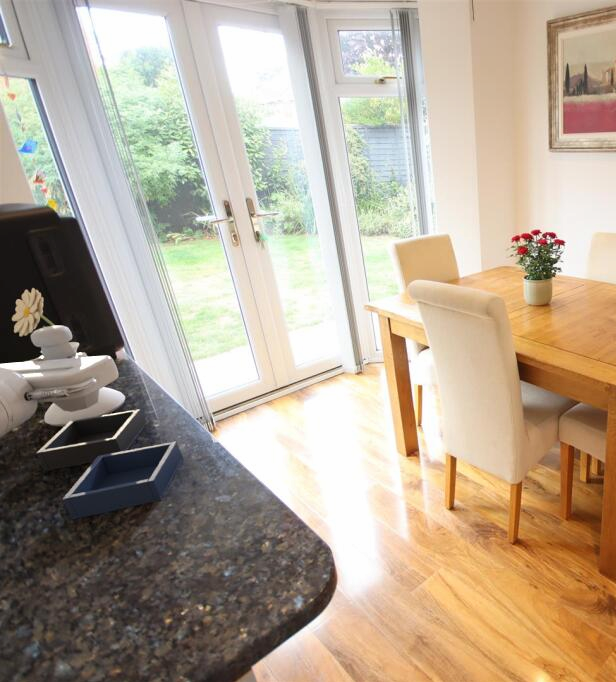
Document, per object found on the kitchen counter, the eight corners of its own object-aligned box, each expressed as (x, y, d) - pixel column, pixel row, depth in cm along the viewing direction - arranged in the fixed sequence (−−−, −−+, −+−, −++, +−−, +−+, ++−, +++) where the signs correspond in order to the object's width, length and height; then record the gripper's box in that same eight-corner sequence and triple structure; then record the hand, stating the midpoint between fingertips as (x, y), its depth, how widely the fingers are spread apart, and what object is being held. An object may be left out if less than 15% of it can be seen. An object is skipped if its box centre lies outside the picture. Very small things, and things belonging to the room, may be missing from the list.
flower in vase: (49, 415, 86) (-13, 286, 77) (125, 394, 93) (78, 273, 84) (46, 444, 77) (-24, 301, 68) (131, 418, 84) (79, 285, 75)
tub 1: (44, 471, 70) (35, 453, 69) (77, 437, 79) (70, 420, 77) (122, 456, 73) (115, 438, 72) (146, 425, 82) (140, 408, 80)
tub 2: (71, 519, 60) (61, 499, 59) (106, 474, 69) (98, 455, 67) (161, 500, 63) (153, 480, 62) (183, 458, 72) (177, 441, 70)
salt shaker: (48, 418, 69) (11, 337, 64) (65, 401, 74) (32, 325, 69) (97, 409, 71) (64, 330, 66) (110, 393, 76) (80, 319, 71)
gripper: (68, 371, 58) (134, 333, 71) (-122, 387, 55) (-18, 345, 68) (87, 414, 60) (147, 370, 73) (-95, 432, 58) (0, 383, 70)
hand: (66, 358), depth 71 cm, fingers closed on salt shaker, 3 cm apart
